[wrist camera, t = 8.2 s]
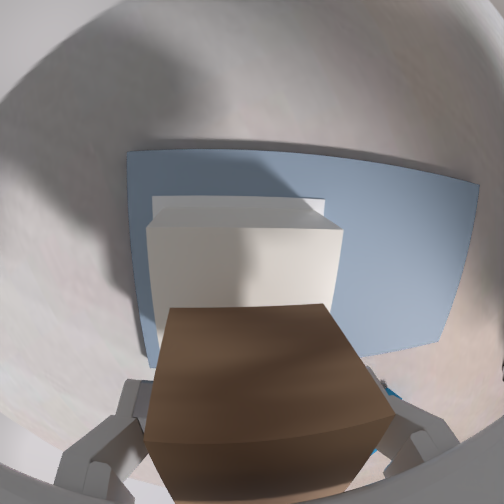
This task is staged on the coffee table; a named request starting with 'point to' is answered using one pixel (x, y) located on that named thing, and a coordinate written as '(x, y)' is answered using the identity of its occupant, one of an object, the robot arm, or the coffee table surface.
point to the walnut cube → (260, 406)
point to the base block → (240, 258)
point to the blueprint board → (340, 213)
